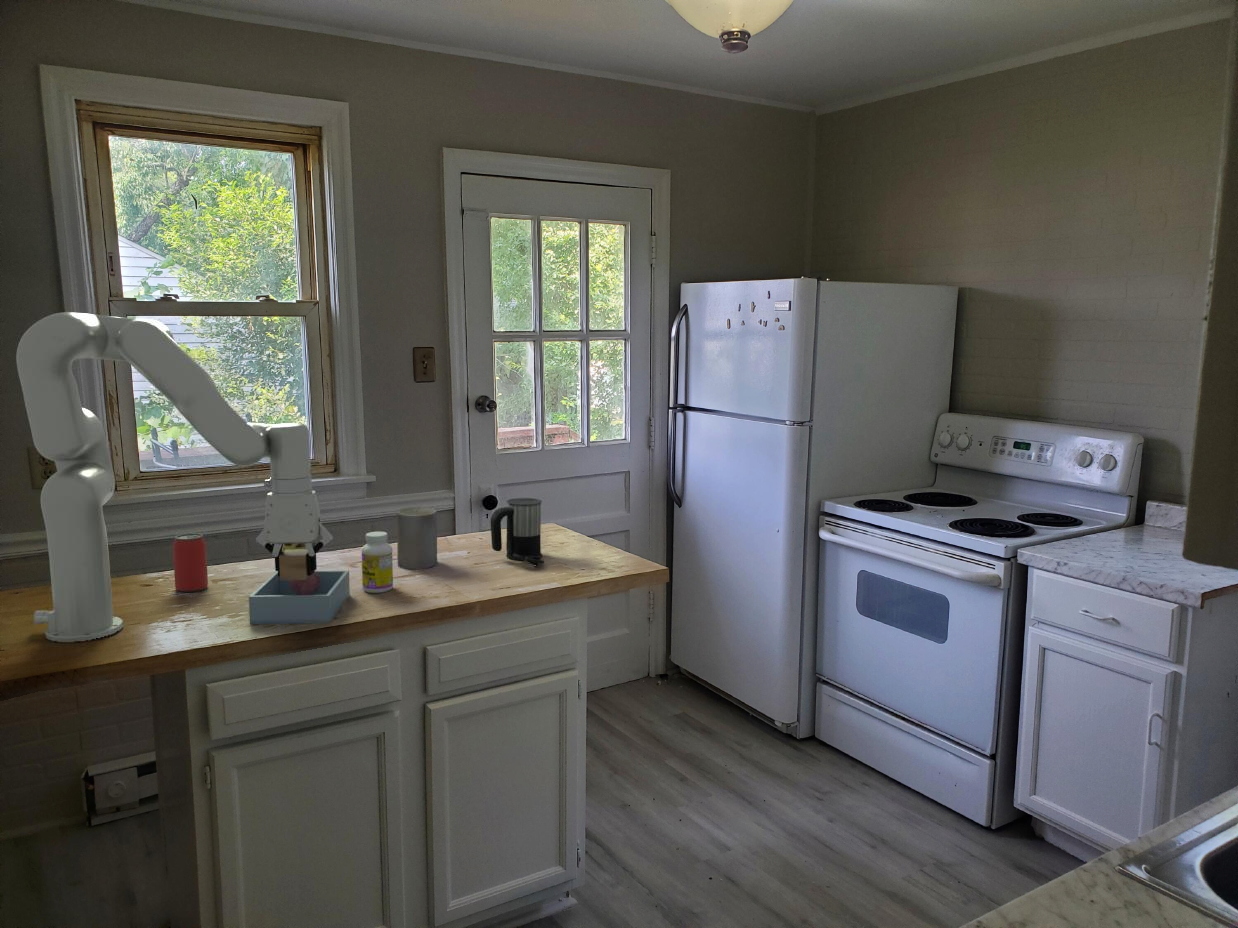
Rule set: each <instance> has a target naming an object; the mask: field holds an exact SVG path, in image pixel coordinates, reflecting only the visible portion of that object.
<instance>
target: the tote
mask: <svg viewBox="0 0 1238 928" xmlns="http://www.w3.org/2000/svg"><path fill="white" fill-rule="evenodd" d="M314 571H315V572H316V573H317V574H318V575H319V576H320V579H321V584H320V587H319V589H318V590H317V591H316V592H315V593H314V594H313V595H297V594H295V593H294V592H293V591H292V589H291V587H290V580H280V576H278V571H276V570H275V571H274V573H273V574H271V575H270V576H269V577H268V578H267V579H266V580H264V582H262V584H260V586H259V587H258V588H256V589H255V590H254V591H253V592H252V593H251V594H250V595H249V596H248V607H249V608H248V611H249V624H250V625H270V624H271V625H279V624H281V625H283V624H284V625H285V624H331V623H332V621H333V620H334V619H335V617H336V616H337V614H338V613H339V611H340V610H341V608H342V607H343V606H344V605H345V603H346V601H347V600H348V598H350V595H351V594H350V593H351V591H350V589H351V587H350V570H314Z"/></svg>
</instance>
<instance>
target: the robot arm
mask: <svg viewBox="0 0 1238 928" xmlns="http://www.w3.org/2000/svg"><path fill="white" fill-rule="evenodd" d="M81 359H94V360H95V359H97V360H106V361H107V360H109V361H119V362H127V363H129V364H130V365H131V366H132V367H133V368H134V369H135V370H136V371H137V372H138V373H139V374H140V375H142V377H143V378H145V379H146V380H147V381H148V382H149V383H150V384H151V385H152V386H153V387H154V388H155V389H157V390H158V391H159V392H160V393H161V394H162V395H163V397H165V399H167V400H168V401H169V402H170V403H171V404H172V405H173V406H174V407H175V408H176V410H177V411H178V412H179V414H181V415H182V417H184V419H185V420H186V421H187V422H188V423H189V424H190V425H191V426H192V428H193V429H194V430H195V431H196V432H197V433H198V434H199V435H200V436H201V437H202V438H203V439H204V440H205V442H207V444H209V445H210V446H212V448H213V449H214V450H216V451H217V452H218V453H219V454H220V455H221V456H222V457H223V458H224V459H226V460H227V461H228V462H230V463H231V464H233V465H235V466H237V467H238V466H239V467H251V466H253V465H254V466H255V465H256V464H258V463H259V462H261V460H262V459H265V458H267V459H268V458H269V467H270V468H269V469H270V478H269V479H264V480H263V487H265V488H266V487H267V488H269V489H270V492H268V493H267V494H266V495H267V496H266V501H265V502H266V503H265V510H264V511H265V513H264V514H265V515H264V528H263V529H262V530H261V532H260V533H259V535H258V536H257V537H255V541H256V542H257V543H258V544H260V545H261V546H262V547H264V548H265V550H267V551H268V552H269V553H270V554H272V555H271V556H272V557H274V569H275V572H276V571H278V576H280V566H279V556H280V555H281V554H282V553H283V551H282V550H283V546H284V544H293V543H305V545H306V548H307V551H308V556H307V558H306V560H307V575H308V576H311V575H312V574H313V573H314V571H317V567H318V565H317V553H318V552H319V551H320V550H321V549H322V548H323V547H325V546H326V545H327V544H328V543H329V542H330V541H331V540H333V538H334V537H333V535H332V534H331V533H330V532H329V531H328V530H327V528H326V527H325V526H324V525H323V524H322V519H321V517H322V516H321V511H320V506H319V505H320V504H319V501H318V497H317V493H316V490H313V485H312V463H311V462H312V461H311V445H310V443H311V441H310V430H309V428H308V426H307V425H306V424H304V423H297V422H287V423H286V422H284V423H283V422H282V423H277V424H271V423H270V424H269V423H268V424H267V423H262V422H261V423H259V422H247V421H246V420H244V419H243V418H242V417H241V415H239V414H238V412H237V411H235V410H234V409H233V407H232V406H231V405H229V403H228V402H227V401H226V400H225V399H224V398H223V396H222V395H221V393H220V392H219V390H218V388H217V386H216V383H215V382H214V379H213V378H212V377H211V375H210V374H209V373H208V372H207V371H206V369H204V368H203V367H202V365H200V364H199V363H198V362H197V361H195V360H194V358H192V357H191V356H190V354H189V353H187V352H186V351H185V350H184V349H183V348H182V347H181V346H180V345H179V344H178V343H177V342H176V341H175V338H174V335H173V333H172V332H171V330H170V329H169V328H168V327H167V326H166V325H165V324H163V323H162V322H160V321H157V320H155V319H149V318H148V319H147V318H129V317H120V316H110V315H102V314H95V313H93V314H92V313H85V312H73V311H67V312H66V311H64V312H57V313H53V314H49V315H47V316H45V317H43V318H41V319H40V320H38V321H37V322H35V323H34V324H32V325H31V326H30V327H29V328H28V329H27V330H26V331H25V332H24V333H23V335H22V336H21V338H20V340H19V343H18V346H17V349H16V367H17V368H16V369H17V373H18V374H17V375H18V377H19V381H20V385H21V390H22V394H23V400H24V406H25V410H26V413H27V414H26V415H27V418H28V423H29V428H30V430H31V431H30V432H31V436H32V441H33V444H34V447H35V448H36V450H37V452H38V454H40V455H41V456H42V457H43V458H45V459H47V460H50V461H53V462H54V463H55V467H56V472H55V473H53V474H52V475H51V476H50V477H49V478H48V479H46V481H45V482H44V485H43V487H42V490H41V492H40V508H41V511H42V512H41V513H42V517H43V521H44V526H45V531H46V540H47V550H48V558H49V569H50V570H49V571H50V581H51V595H52V605H53V608H52V610H35V611H34V614H33V623H34V624H36V625H37V624H47V625H48V628H47V629H45V637H46V639H48V640H49V641H52V642H55V641H57V643H75V642H74V641H81V642H86V640H88V641H93V640H92V639H94V640H97V639H96V638H98V639H102V638H105V637H104V636H106V637H108V635H109V636H111V635H114V634H116V633H117V631H118V632H120V631H121V629H123V627H124V621H123V619H122V618H120V617H118V616H114V610H113V609H114V608H113V607H114V606H113V594H112V581H111V568H110V555H109V552H110V551H109V546H108V545H109V543H108V532H107V527H106V521H105V516H104V510H103V506H104V505H106V503H108V501H109V500H110V499H111V498H112V497H113V495H114V493H115V489H116V478H115V473H114V468H113V463H112V460H111V459H112V458H111V456H110V450H109V445H108V442H107V437H106V433H105V429H104V427H103V424H102V422H101V421H100V419H99V418H98V416H97V415H96V414H94V413H93V412H92V411H91V410H89V409H87V408H85V407H83V405H82V403H81V398H80V392H79V388H78V387H79V386H78V384H77V383H78V382H77V381H76V378H75V376H74V373H73V369H72V367H73V363H74V362H75V361H76V360H81ZM320 537H322V539H320V540H319V541H318V542H317V541H316V540H317V539H318V538H320ZM316 542H317V543H316ZM101 637H102V638H101Z"/></svg>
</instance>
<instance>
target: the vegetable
mask: <svg viewBox="0 0 1238 928" xmlns="http://www.w3.org/2000/svg"><path fill="white" fill-rule="evenodd" d="M315 571H316V570H314V573H313V574H312V575H311V576H309V577H308V578H307V580H290V587H291V589H292V591H293V592H294V593H295V594H297V595H313V594H314V593H315V592H316V591H317V590H318V589H319V587H320V584H321V579H320V576H319V575H318V574H317V573H316V572H315Z"/></svg>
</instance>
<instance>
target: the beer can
mask: <svg viewBox="0 0 1238 928" xmlns="http://www.w3.org/2000/svg"><path fill="white" fill-rule="evenodd" d="M172 557H173V558H172V559H173V572H174V573H173V574H174V575H173V577H174V587H175V589H176V590H177V591H178V592H182V593H193V592H198V591H199V592H200V591H202V590H204V589H206V588H208V585H209V579H208V578H209V577H208V560H207V559H208V558H207V544H206V541H205V539H204V537H203V534H202V533H196V532H195V533H183V534H179V535H175V537H174V542H173V546H172Z"/></svg>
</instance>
